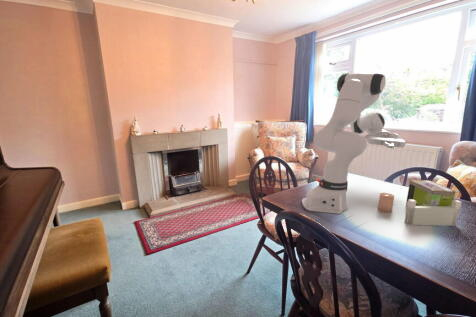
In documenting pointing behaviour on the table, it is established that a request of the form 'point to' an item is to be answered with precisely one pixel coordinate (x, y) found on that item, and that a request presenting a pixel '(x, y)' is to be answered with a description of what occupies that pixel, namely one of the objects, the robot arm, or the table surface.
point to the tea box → (429, 193)
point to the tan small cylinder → (385, 202)
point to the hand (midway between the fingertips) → (391, 147)
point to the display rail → (432, 214)
